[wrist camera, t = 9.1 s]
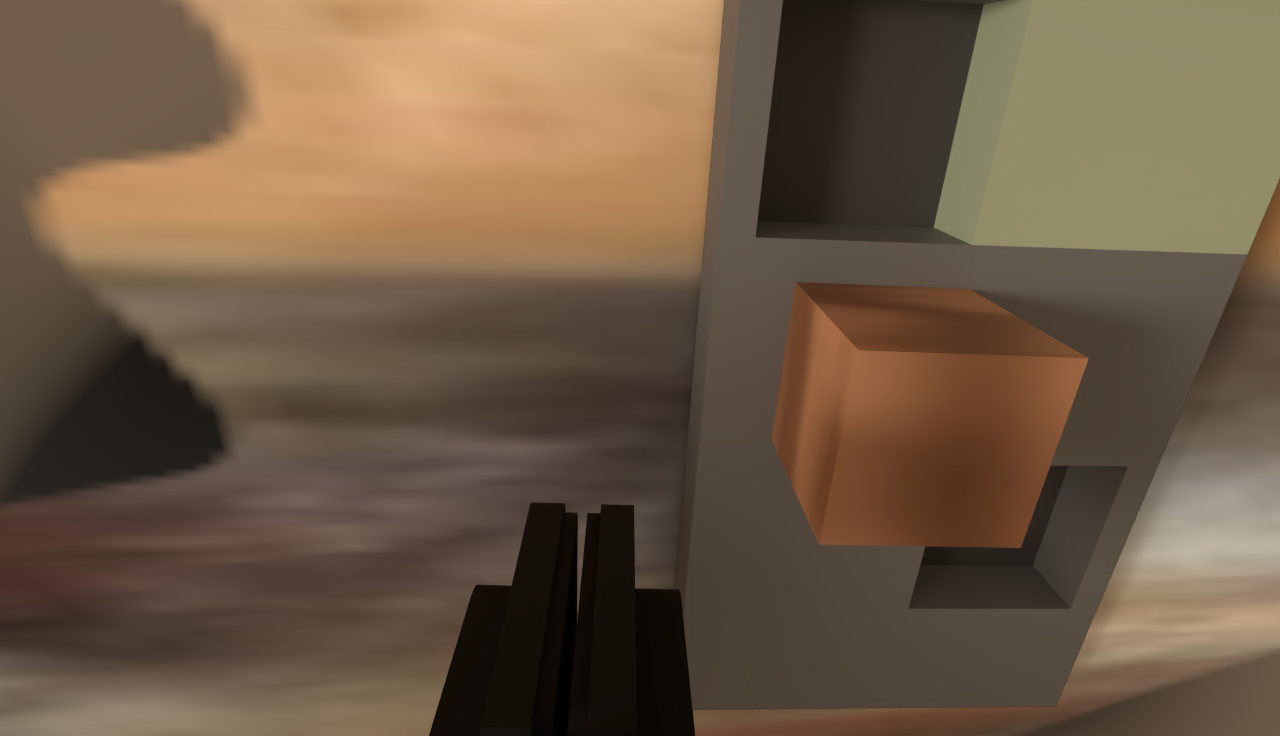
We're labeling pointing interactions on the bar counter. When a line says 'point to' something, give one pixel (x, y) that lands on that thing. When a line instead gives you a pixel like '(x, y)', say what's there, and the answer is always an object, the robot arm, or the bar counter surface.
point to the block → (918, 415)
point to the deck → (964, 259)
